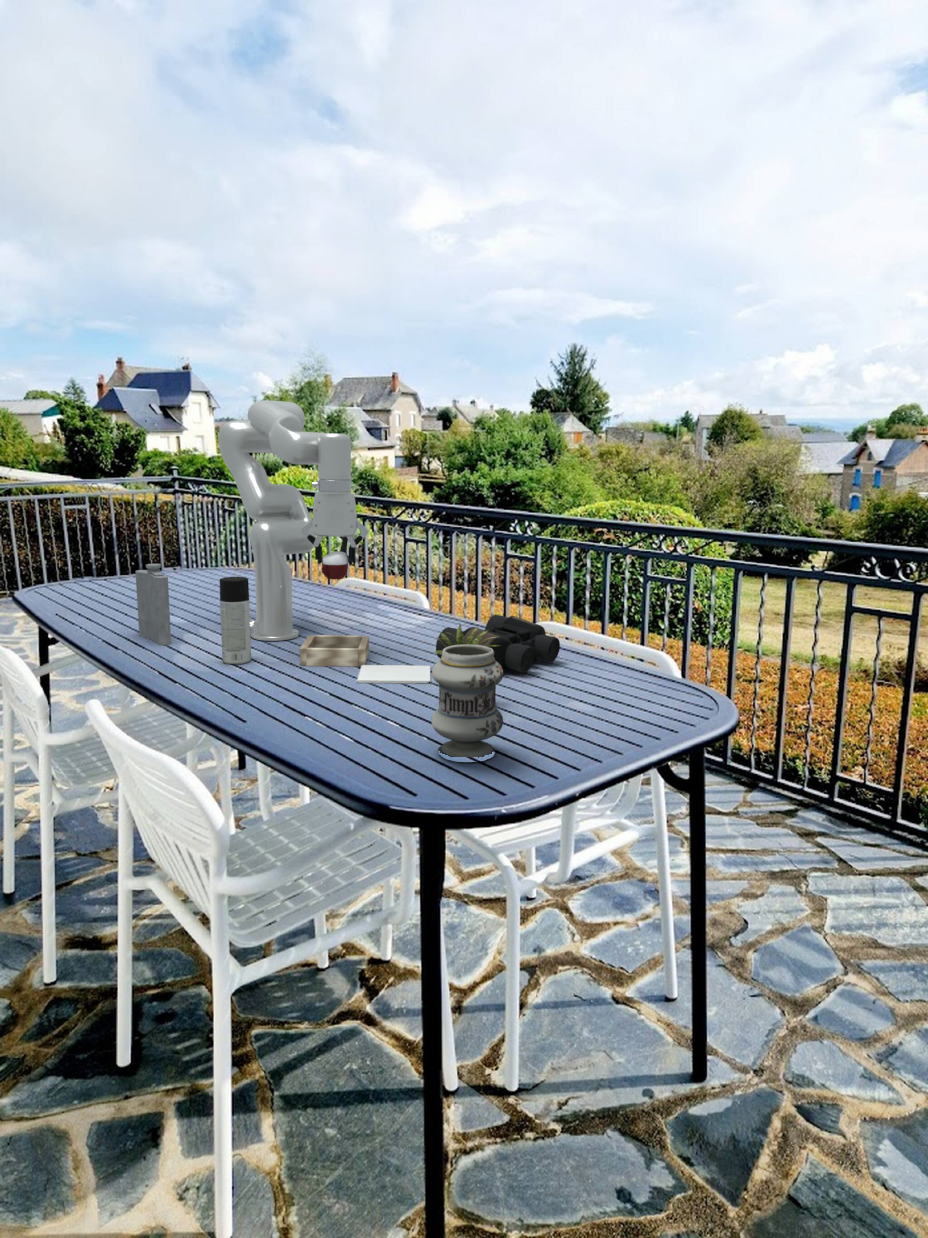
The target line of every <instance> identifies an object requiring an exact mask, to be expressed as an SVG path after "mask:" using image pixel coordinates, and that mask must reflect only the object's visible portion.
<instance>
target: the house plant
mask: <svg viewBox="0 0 928 1238" xmlns="http://www.w3.org/2000/svg"><path fill="white" fill-rule="evenodd" d="M477 628H479V625H477V626H476V628H475V629H474V630H473V632H472V633H471V634H470V635H469V637H468V638H467V640H466V642H465V644H464V645H466V644H467V645H476V644H477V643H478V642H479V641H480V640H481V638H482V636H483V635H484V634H485V633H486V632H487V631H485V632H483V633H481V634H480V635H478V636H477V637H476V639H474V640H472V638H473V636H474V634H475V632H476V630H477ZM456 629H457V634H456V639H455V637H454V636H453V635H452V634H451V633H449V634H451V635H452V637H453V638H454V640H455V645H463V642H464V636H463V633H462V631H463V630H462V623H459V625H458V628H456ZM488 631H489V630H488ZM441 632H442V631H439V634H440V633H441ZM446 633H448V632H446ZM441 636H442V637H443V638H442V639H443V640H444V641H445V642H446V643H447V644H448V646H453V645H452V643H451V641H450V640H449V639H448V638H447V636H446V635H444V634H443V633H441ZM491 638H496V637H491ZM437 639H439V638H438V637H436V640H437ZM487 639H490V638H487ZM487 639H485V640H487ZM439 640H440V639H439ZM485 640H483V641H485ZM440 641H441V640H440ZM483 641H481V642H483ZM441 642H442V641H441ZM481 642H480V643H481ZM486 642H492V641H486ZM486 642H483V643H482V644H484V643H486ZM442 643H443V642H442ZM478 644H479V643H478ZM478 644H477V645H478ZM482 644H481V645H482ZM443 645H444V644H443ZM444 646H445V645H444ZM494 646H500V645H487V646H486V647H494ZM445 647H446V646H445ZM433 653H436V654H437V653H438V654H440V655H442V651H440V650H438V651H436V650H435V651H433Z"/></svg>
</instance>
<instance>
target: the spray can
mask: <svg viewBox="0 0 928 1238" xmlns="http://www.w3.org/2000/svg"><path fill="white" fill-rule="evenodd" d="M249 588H250V586H249V577H245V576H226V577H221V578H220V579H219V608H220V610H219V611H220V629H221V630H220V633H221V634H220V635H221V655H222V656H221V658H222V662H223V663H224V664H227V665H229V664H230V665H241V664H247V663H249V662H251V660H252V645H251V644H252V641H251V639H252V637H251V629H250V622H251V618H250V617H251V613H250V612H251V611H250V589H249Z"/></svg>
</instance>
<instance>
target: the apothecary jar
mask: <svg viewBox="0 0 928 1238" xmlns="http://www.w3.org/2000/svg"><path fill="white" fill-rule="evenodd" d="M431 674H432V678H433V680H434V681H435V682H436V683H437V684H438V690H439V691H438V692H439V693H438V694H439V695H438V701H439V702H438V708H437V709H436V710H434V712H433V714H432V716H431V721H430V722H431V726H432V728H433V730H434V731H435V732H436V733H437V734H438V735H440V736H441V737H443V738H445V739H447V740H448V741H445V742H444V743H443V744H444V745H443V744H442V745H440V746H439V747H438V748H439V751H440V753H442V754H445V755H448V756H450V757H478V758H479V757H484V756H485V755H489V754H492V752H493V750H494V749H495V747H494V746H493V747H494V748H493V747H492V745H491V744H490V743H488V742H485V741H484V740H488V739H491V738H492V737H494V736H496V735H497V734H498V733H499V732H500V731H501V730H502V728H503V725H504V718H503V715H502V713H501V712H500V711H499V709H498V708H497V701H496V700H497V699H496V693H497V692H496V691H497V687H496V686H497V685H498V684H500V682H502V680H503V677H504V671H503V669H502V667H501V665H500V664H499V663H498V662H496V661H495V658H494V651H493V649H491V648H489V647H486V646H481V645H467V644H466V645H454V646H449V647H446V648H444V649H443V651H442V657H441V659H439V660H438V661H437V662H436V663H435V664H434V665H433V667H432V672H431Z"/></svg>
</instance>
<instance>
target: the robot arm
mask: <svg viewBox="0 0 928 1238" xmlns="http://www.w3.org/2000/svg"><path fill="white" fill-rule="evenodd" d="M305 420H306V418H305V413H304V411H303V409H302V407H300V405H298V404H297V403H295V402H292V401H281V400H267V399H264V400H263V399H262V400H258V401H256V402H254V403H252V405H250V406H249V408H248V411H247V419H244V420H243V419H239V420H230V421H227V422H225V423H224V424H223V425H222V426H221V427H220V429H219V431H218V447H219V452H220V455H221V458H222V459H223V462H224V464H225V465H226V468H227V469H228V470H229V472H230V474H231V475H232V477H233V479H234V481H235V485H236V487H237V491H238V493H239V496H240V499H241V501H242V504H243V507H244V510H245V511H246V513H247V515H248V517H249V518H250V519H252V520H255V521H256V522H255V523H254V524H253V525H252V526H251V528H250V532H249V539H250V541H249V542H250V546H251V548H252V549H251V550H252V554H253V555H252V556H253V562H254V563H253V564H254V580H255V581H254V583H255V614H256V616H255V617H256V618H255V620H252V621H250V630H252V631H250V637H251V639H252V638H253V639H255V640H257V641H258V640H259V641H265V642H267V641H268V642H278V641H279V642H280V641H286V640H287V641H288V640H292V639H296V638H298V637H299V630H297V629H296V628H293V627H294V624H293V623H294V622H293V621H294V620H293V618H294V617H293V579H292V577H293V576H292V575H293V574H292V570H291V567H290V565H289V564H288V562H287V561H286V559H285V558H284V556H287V555H294V554H296V555H298V554H305V553H309V552H311V551H312V550H313V549H314V560H315V561H317V564H318V565H321V564H322V558H323V546H322V541H323V538H324V537H339V538H340V537H341V538H343V537H347V539H348V543H349V547H348V556H349V562H348V565H353V561H356V547H357V546H358V545H359V543H361V541H363V540H364V539H365V538H366V537H367V535H368V534H369V533H370V531H369V529H368V528H367V527H365V526H364V525H363V524H362V523H361V521H359V520H358V519H357V517H358V515H357V506H356V505H357V504H356V497H355V494H354V493H352V442H351V441H352V440H351V437H350V436H349V435H348V434H347V433H346V434H345V433H337V432H336V433H331V432H329V433H328V432H315V431H314V432H313V431H303V429H304V426H305V423H306V421H305ZM250 453H252V454H253V453H254V454H255V453H257V454H258V453H259V454H260V453H261V454H273V455H275V456H276V457H277V458H279V459H280V460H282V461H283V462H286V463H288V464H291V465H292V464H293V465H315V466H316V465H317V466H318V468H317V469H318V470H317V471H318V472H317V473H318V475H317V476H318V480H317V481H312V486H311V487H312V488H313V489H317V490H318V492H316V493H314V498H313V506H312V507H313V508H312V519H311V515H310V512H309V510H308V508H307V505H306V502H305V499H304V498H303V495H302V493H301V492H300V491H299V489H298V488H297V487H296V486H293V485H290V484H274V483H272V482H271V481H270V479H269V478H268V475H267V472H266V470H265V468H264V467H263V466H262V464H261V463H260V462H259V461H258V460H257V459H256V458H254V457H253V456H252V455H250ZM357 529H358V530H359V531H360V532H361V533H360V534H358V536H357V537H356V538H355V537H354V535H356V533H357Z"/></svg>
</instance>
